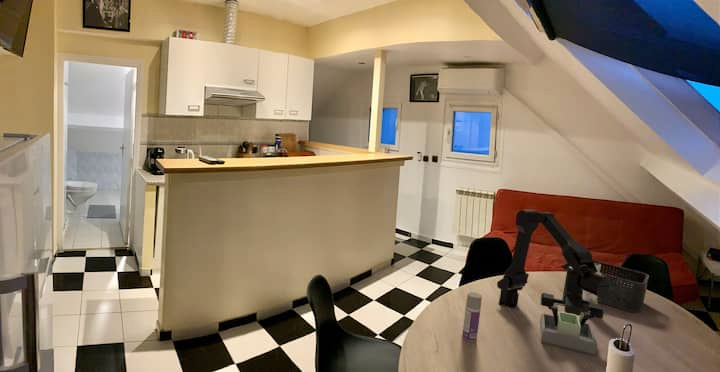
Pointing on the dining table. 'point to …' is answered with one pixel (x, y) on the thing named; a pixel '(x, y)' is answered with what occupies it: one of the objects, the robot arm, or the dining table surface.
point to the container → (472, 317)
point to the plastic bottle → (589, 296)
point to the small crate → (568, 325)
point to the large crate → (550, 336)
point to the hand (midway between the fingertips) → (567, 328)
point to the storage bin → (623, 287)
